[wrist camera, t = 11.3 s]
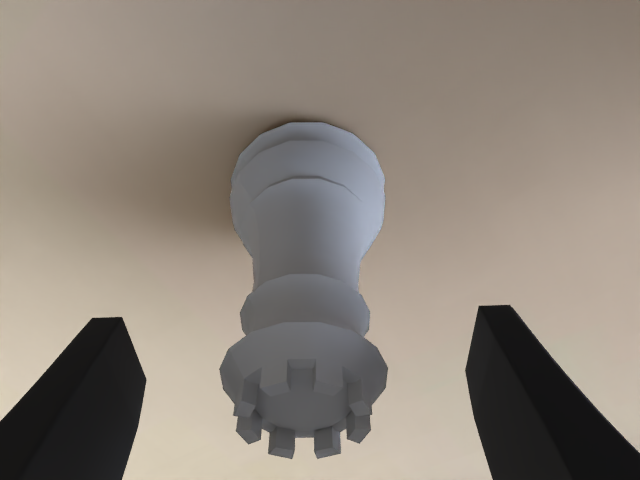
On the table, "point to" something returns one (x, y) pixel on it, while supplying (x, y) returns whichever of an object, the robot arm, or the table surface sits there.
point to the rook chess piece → (305, 288)
